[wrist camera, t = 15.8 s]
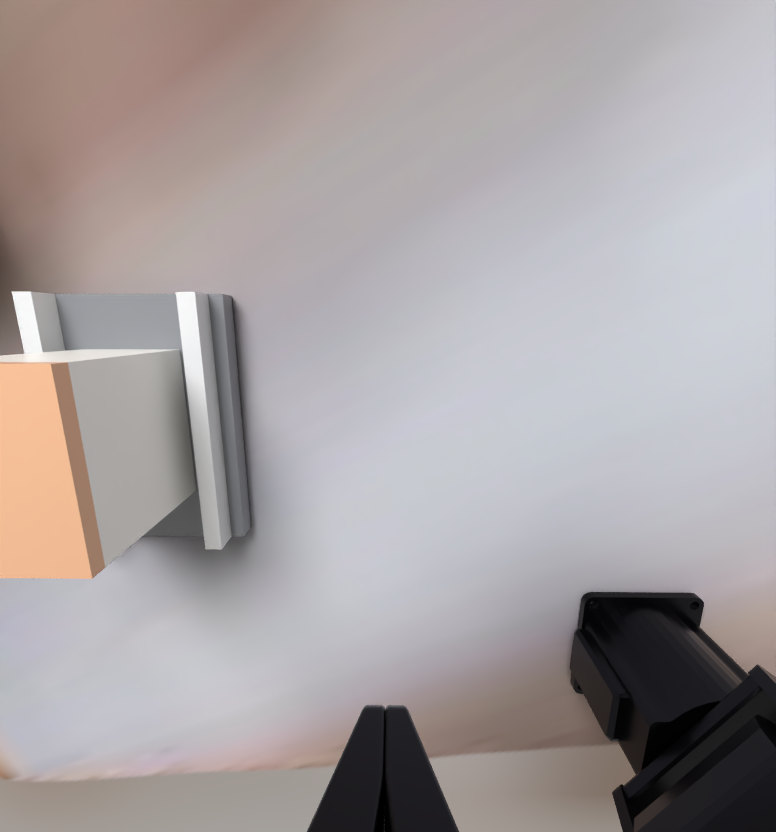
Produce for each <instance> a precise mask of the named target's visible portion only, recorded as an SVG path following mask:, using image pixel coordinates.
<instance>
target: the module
mask: <svg viewBox="0 0 776 832" xmlns="http://www.w3.org/2000/svg"><path fill="white" fill-rule="evenodd" d="M195 491H196V484H195V476H194V467H193V459H192V450H191V442H190V433H189V425H188V416H187V408H186V399H185V391H184V382H183V374H182V365H181V357H180V350H166V349H80V350H67V351H54V352H42V353H29V354H16V355H3V356H0V578H85V579H92V578H93V577H95V576H96V575H97V574H98V573H99V572H101V571H102V570H103V569H104V568H105V567H106V566H108V565H109V564H110V563H111V562H112V561H114V560H115V559H116V558H117V557H118V556H119V555H121V554H122V553H123V552H124V551H125V550H127V549H128V548H129V547H130V546H131V545H132V544H134V543H135V542H136V541H137V540H138V539H140V538H141V537H142V536H143V535H144V534H145V533H147V532H148V531H149V530H150V529H151V528H153V527H154V526H155V525H156V524H157V523H158V522H160V521H161V520H162V519H163V518H164V517H166V516H167V515H168V514H169V513H170V512H171V511H173V510H174V509H175V508H176V507H177V506H179V505H180V504H181V503H182V502H183V501H184V500H186V499H187V498H188V497H189V496H190V495H192V494H193V493H194V492H195Z"/></svg>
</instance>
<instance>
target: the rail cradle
mask: <svg viewBox="0 0 776 832" xmlns="http://www.w3.org/2000/svg"><path fill="white" fill-rule="evenodd" d="M12 295H13V300H14V305H15V310H16V315H17V320H18V324H19V329H20V334H21V339H22V344H23V349H24V353H25V354H29V353H42V352H54V351H67V350H80V349H166V350H180V357H181V365H182V374H183V382H184V391H185V399H186V408H187V416H188V425H189V433H190V442H191V450H192V459H193V467H194V476H195V484H196V491H195V492H194V493H193V494H192V495H190V496H189V497H188V498H187V499H186V500H184V501H183V502H182V503H181V504H180V505H179V506H177V507H176V508H175V509H174V510H173V511H171V512H170V513H169V514H168V515H167V516H166V517H164V518H163V519H162V520H161V521H160V522H158V523H157V524H156V525H155V526H154V527H153V528H151V529H150V530H149V531H148V532H147V533H145V534H144V535H143V536H204V542H205V549H220V550H222V549H223V547H224V546H225V545H226V543H227V542H228V541H229V539H230V538H231V537H244V536H245V535H246V533H247V532H248V530H249V529H250V527H251V522H250V510H249V499H248V487H247V475H246V463H245V451H244V439H243V428H242V416H241V404H240V392H239V380H238V368H237V357H236V345H235V333H234V321H233V309H232V297H231V296H229V295H224V294H204V293H198V292H176V294H51V293H40V292H12Z"/></svg>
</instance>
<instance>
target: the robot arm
mask: <svg viewBox="0 0 776 832" xmlns="http://www.w3.org/2000/svg"><path fill="white" fill-rule="evenodd" d="M592 601H594V602H593V603H592V604H590V603H591V602H592ZM691 603H692V604H691ZM703 607H704V602H703V601H702V600H701V599H700V598H699V597H698V596H697V595H695V594H694V593H628V592H590V593H586V594H585V595H584V596H583V597H582V599H581V605H580V613H579V621H578V628H577V630H576V631H575V633H574V640H573V648H572V655H571V663H570V669H571V671H572V673H571V685H572V687H573V689H574V690H575V692H577V693H579V694H584V696H585V697H586V699H587V701H588V703H589V705H590V707H591V709H592V711H593V713H594V715H595V717H596V718H597V720H598V722H599V724H600V726H601V728H602V730H603V732H604V734H605V735H606V736H607V737H608V739H609V740H610V741H618V742H619V744H620V746H621V748H622V750H623V751H624V753H625V755H626V757H627V759H628V761H629V762H630V764H631V766H632V768H633V770H634V772H635V774H636V776H634V777H633V778H632V779H631V780H630V781H629V782H628V783H626V784H625V785H624V786H623V785H620V786H619V787H617V788H616V789H615V790H614V791H613V792H612V794H613V798H614V801H615V805H616V808H617V812H618V815H619V819H620V823H621V826H622V830H623V832H776V677H775V676H773V675H772V674H771V673H769V672H768V671H766V670H765V669H764V668H762V667H761V666H759V665H758V664H757V665H756V666H755V667H754V668H753V669H752V670H750V671H749V672H748V674H749V675H748V674H747V673H746V672H745V671H744V670H743V669H742V668H741V667H740V666H739V665H738V664H737V663H736V662H735V661H734V660H733V659H732V658H731V657H729V656H728V655H727V654H726V653H725V652H724V651H723V650H722V649H721V648H720V647H719V646H718V645H717V644H716V643H715V642H714V641H713V640H712V639H711V638H710V637H709V636H708V635H707V634H706V633H705V632H704V631H703V630H702V629H701V628H700V627H699V626H700V621H701V616H702V612H703ZM307 832H459V831H458V828H457V826H456V824H455V821H454V819H453V816H452V814H451V812H450V809H449V807H448V804H447V802H446V800H445V797H444V795H443V792H442V791H441V788H440V785H439V783H438V781H437V778H436V776H435V773H434V771H433V769H432V766H431V764H430V761H429V759H428V757H427V754H426V752H425V749H424V747H423V745H422V742H421V740H420V738H419V735H418V733H417V730H416V728H415V726H414V723H413V721H412V718H411V716H410V714H409V711H408V709H407V708H406V707H405V706H403V705H389V706H387V707H386V710H385V708H384V706H382V705H366V706H365V707H364V708H363V710H362V712H361V714H360V716H359V718H358V721H357V723H356V725H355V727H354V729H353V732H352V734H351V736H350V738H349V740H348V743H347V745H346V747H345V749H344V751H343V754H342V756H341V758H340V760H339V762H338V764H337V767H336V769H335V771H334V773H333V775H332V778H331V780H330V782H329V784H328V787H327V789H326V791H325V793H324V795H323V797H322V800H321V802H320V804H319V806H318V808H317V811H316V813H315V815H314V818H313V819H312V822H311V824H310V826H309V828H308V830H307Z"/></svg>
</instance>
